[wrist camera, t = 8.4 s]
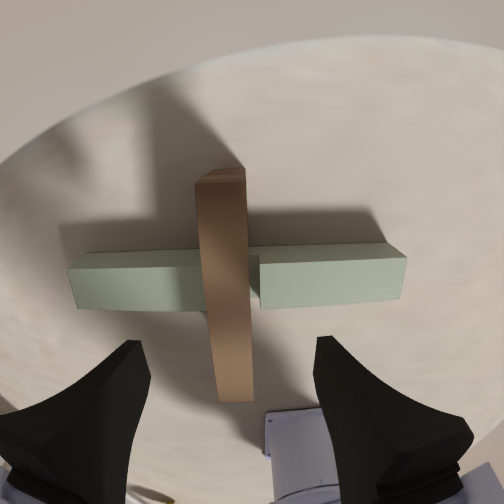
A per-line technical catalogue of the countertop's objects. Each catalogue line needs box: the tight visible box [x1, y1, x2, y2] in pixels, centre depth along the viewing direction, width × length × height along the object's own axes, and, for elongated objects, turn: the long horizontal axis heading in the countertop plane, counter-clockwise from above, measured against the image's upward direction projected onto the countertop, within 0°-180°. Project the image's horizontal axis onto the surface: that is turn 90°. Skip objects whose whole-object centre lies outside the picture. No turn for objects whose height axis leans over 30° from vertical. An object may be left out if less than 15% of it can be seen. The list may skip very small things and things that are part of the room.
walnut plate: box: [195, 169, 254, 402], centre depth 17 cm, size 12×2×7 cm, turn 2°
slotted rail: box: [67, 242, 407, 311], centre depth 19 cm, size 3×22×3 cm, turn 92°
